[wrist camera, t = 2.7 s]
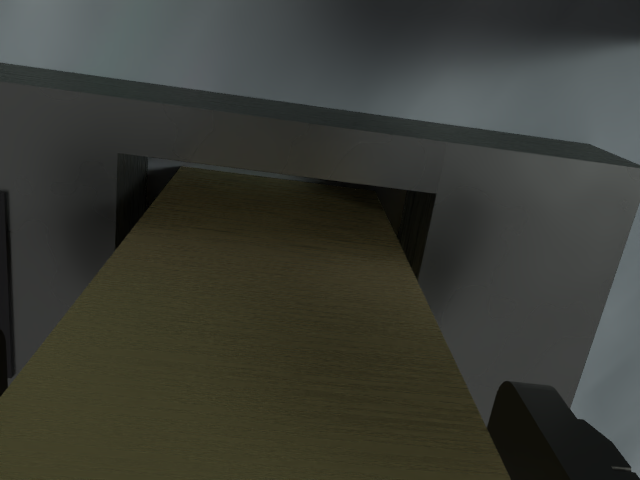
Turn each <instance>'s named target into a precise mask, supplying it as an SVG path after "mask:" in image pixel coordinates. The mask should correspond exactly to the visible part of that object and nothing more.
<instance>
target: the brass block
mask: <svg viewBox="0 0 640 480" xmlns="http://www.w3.org/2000/svg"><path fill="white" fill-rule="evenodd" d="M0 480H511V479H510V477H509V474H508V472H507V470H506V468H505V466H504V464H503V462H502V460H501V457H500V455H499V453H498V451H497V449H496V447H495V445H494V443H493V440H492V438H491V436H490V434H489V432H488V430H487V428H486V426H485V424H484V421H483V419H482V417H481V415H480V413H479V411H478V409H477V407H476V404H475V402H474V400H473V398H472V396H471V394H470V392H469V390H468V387H467V385H466V383H465V381H464V379H463V377H462V375H461V373H460V370H459V368H458V366H457V364H456V362H455V360H454V358H453V356H452V353H451V351H450V349H449V347H448V345H447V343H446V341H445V339H444V337H443V334H442V332H441V330H440V328H439V326H438V324H437V322H436V320H435V317H434V315H433V313H432V311H431V309H430V307H429V305H428V303H427V300H426V298H425V296H424V294H423V292H422V290H421V288H420V286H419V283H418V281H417V279H416V277H415V275H414V273H413V271H412V269H411V266H410V264H409V262H408V260H407V258H406V256H405V254H404V252H403V250H402V247H401V245H400V243H399V241H398V239H397V237H396V235H395V233H394V230H393V228H392V226H391V224H390V222H389V220H388V218H387V216H386V213H385V211H384V209H383V207H382V205H381V203H380V201H379V199H378V196H377V194H376V192H375V191H372V190H364V189H357V188H349V187H341V186H333V185H325V184H317V183H309V182H302V181H294V180H286V179H278V178H270V177H262V176H254V175H246V174H239V173H231V172H223V171H215V170H207V169H199V168H191V167H183V166H181V167H180V169H179V170H178V171H177V172H176V174H175V175H174V176H173V177H172V179H171V180H170V181H169V183H168V184H167V185H166V186H165V188H164V189H163V190H162V191H161V193H160V194H159V195H158V197H157V198H156V199H155V200H154V202H153V203H152V204H151V206H150V207H149V208H148V209H147V211H146V212H145V213H144V214H143V216H142V217H141V218H140V220H139V221H138V222H137V223H136V225H135V226H134V227H133V228H132V230H131V231H130V232H129V234H128V235H127V236H126V237H125V239H124V240H123V241H122V243H121V244H120V245H119V246H118V248H117V249H116V250H115V251H114V253H113V254H112V255H111V257H110V258H109V259H108V260H107V262H106V263H105V264H104V265H103V267H102V268H101V269H100V271H99V272H98V273H97V274H96V276H95V277H94V278H93V279H92V281H91V282H90V283H89V285H88V286H87V287H86V288H85V290H84V291H83V292H82V294H81V295H80V296H79V297H78V299H77V300H76V301H75V302H74V304H73V305H72V306H71V308H70V309H69V310H68V311H67V313H66V314H65V315H64V316H63V318H62V319H61V320H60V322H59V323H58V324H57V325H56V327H55V328H54V329H53V331H52V332H51V333H50V334H49V336H48V337H47V338H46V339H45V341H44V342H43V343H42V345H41V346H40V347H39V348H38V350H37V351H36V352H35V353H34V355H33V356H32V357H31V359H30V360H29V361H28V362H27V364H26V365H25V366H24V368H23V369H22V370H21V371H20V373H19V374H18V375H17V376H16V378H15V379H14V380H13V382H12V383H11V384H10V385H9V387H8V388H7V389H6V390H5V392H4V393H3V394H2V396H1V397H0Z"/></svg>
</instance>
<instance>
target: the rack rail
mask: <svg viewBox="0 0 640 480" xmlns="http://www.w3.org/2000/svg"><path fill="white" fill-rule="evenodd" d="M148 157H153V158H161V159H169V160H177V161H185V162H192V163H200V164H208V165H216V166H224V167H231V168H239V169H247V170H255V171H263V172H271V173H278V174H286V175H294V176H302V177H310V178H318V179H325V180H333V181H341V182H349V183H357V184H364V185H372V186H380V187H388V188H396V189H404V190H407V195H406V200H405V205H404V210H403V215H402V220H401V225H400V230H399V235H398V241H399V243H400V245H401V247H402V250H403V252H404V254H405V256H406V258H407V260H408V262H409V264H410V266H411V269H412V271H413V273H414V275H415V277H416V279H417V281H418V283H419V286H420V288H421V290H422V292H423V294H424V296H425V298H426V300H427V303H428V305H429V307H430V309H431V311H432V313H433V315H434V317H435V320H436V322H437V324H438V326H439V328H440V330H441V332H442V334H443V337H444V339H445V341H446V343H447V345H448V347H449V349H450V351H451V353H452V356H453V358H454V360H455V362H456V364H457V366H458V368H459V370H460V373H461V375H462V377H463V379H464V381H465V383H466V385H467V387H468V390H469V392H470V394H471V396H472V398H473V400H474V402H475V404H476V407H477V409H478V411H479V413H480V415H481V417H482V419H483V421H484V424H485V426H486V428H487V425H488V422H489V418H490V415H491V411H492V407H493V404H494V400H495V397H496V394H497V391H498V389H499V387H500V385H501V384H502V383H503V382H505V381H512V382H522V383H532V384H542V385H550V386H552V387H554V388H555V389H556V390H557V392H558V393H559V394H560V396H561V397H562V399H563V400H564V401H565V403H566V404H567V406H568V407H569V408H570V407H571V404H572V401H573V398H574V395H575V392H576V390H577V387H578V384H579V381H580V378H581V375H582V372H583V369H584V366H585V363H586V360H587V357H588V354H589V351H590V348H591V345H592V342H593V339H594V336H595V333H596V330H597V327H598V324H599V321H600V318H601V315H602V312H603V309H604V306H605V304H606V301H607V298H608V295H609V292H610V289H611V286H612V283H613V280H614V277H615V274H616V271H617V268H618V265H619V262H620V259H621V256H622V253H623V250H624V247H625V244H626V241H627V238H628V235H629V232H630V229H631V226H632V223H633V220H634V218H635V215H636V212H637V209H638V206H639V203H640V165H638V164H636V163H633V162H631V161H629V160H626V159H624V158H621V157H619V156H617V155H614V154H612V153H610V152H607V151H605V150H602V149H600V148H598V147H595V146H593V145H590V144H584V143H577V142H570V141H563V140H555V139H548V138H541V137H534V136H526V135H519V134H512V133H505V132H498V131H490V130H483V129H476V128H469V127H461V126H454V125H447V124H440V123H432V122H425V121H418V120H411V119H403V118H396V117H389V116H382V115H374V114H367V113H360V112H353V111H346V110H338V109H331V108H324V107H317V106H309V105H302V104H295V103H288V102H280V101H273V100H266V99H259V98H251V97H244V96H237V95H230V94H223V93H215V92H208V91H201V90H194V89H186V88H179V87H172V86H165V85H157V84H150V83H143V82H136V81H128V80H121V79H114V78H107V77H99V76H92V75H85V74H78V73H71V72H63V71H56V70H49V69H42V68H34V67H27V66H20V65H13V64H5V63H0V329H1V330H2V331H3V333H4V335H5V339H6V352H7V377H8V387H9V385H10V384H11V383H12V382H13V380H14V379H15V378H16V376H17V375H18V374H19V373H20V371H21V370H22V369H23V368H24V366H25V365H26V364H27V362H28V361H29V360H30V359H31V357H32V356H33V355H34V353H35V352H36V351H37V350H38V348H39V347H40V346H41V345H42V343H43V342H44V341H45V339H46V338H47V337H48V336H49V334H50V333H51V332H52V331H53V329H54V328H55V327H56V325H57V324H58V323H59V322H60V320H61V319H62V318H63V316H64V315H65V314H66V313H67V311H68V310H69V309H70V308H71V306H72V305H73V304H74V302H75V301H76V300H77V299H78V297H79V296H80V295H81V294H82V292H83V291H84V290H85V288H86V287H87V286H88V285H89V283H90V282H91V281H92V279H93V278H94V277H95V276H96V274H97V273H98V272H99V271H100V269H101V268H102V267H103V265H104V264H105V263H106V262H107V260H108V259H109V258H110V257H111V255H112V254H113V253H114V251H115V250H116V249H117V248H118V246H119V245H120V244H121V243H122V241H123V240H124V239H125V237H126V236H127V235H128V234H129V232H130V231H131V230H132V228H133V227H134V226H135V225H136V223H137V222H138V221H139V220H140V218H141V217H142V216H143V214H144V213H145V211H146V188H147V164H148Z"/></svg>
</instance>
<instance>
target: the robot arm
mask: <svg viewBox="0 0 640 480" xmlns="http://www.w3.org/2000/svg"><path fill="white" fill-rule="evenodd" d="M7 388H8V377H7V352H6V339H5V335H4V333H3V331H2V330H1V329H0V397H1V396H2V394H3V393H4V392H5V390H6V389H7ZM487 430H488V432H489V434H490V436H491V438H492V440H493V443H494V445H495V447H496V449H497V451H498V453H499V455H500V457H501V460H502V462H503V464H504V466H505V468H506V470H507V472H508V474H509V477H510V479H511V480H640V478H639V477H638V476H637V474H636V473H634V472H631V467H630V465H629V464H628V463H627V461H626V460H625V459H624V457H623V456H622V455H621V453H620V452H619V451H618V449H617V448H616V447H615V445H614V444H613V443H612V442H611V441H610V440H609V439H607V438H606V437H605V436H604V435H602V434H601V433H600V432H599V431H597V430H596V429H595V428H593V427H592V426H591V425H590V424H588V423H587V422H586V421H585V420H582V419H577V418H576V417H575V415H574V414H573V413H572V411H571V410H570V408H569V407H568V406H567V404H566V403H565V401H564V400H563V399H562V397H561V396H560V394H559V393H558V392H557V390H556V389H555V388H554V387H552V386H550V385H542V384H532V383H522V382H512V381H505V382H503V383H502V384H501V385H500V387H499V389H498V391H497V394H496V397H495V400H494V404H493V407H492V411H491V415H490V418H489V422H488V425H487Z"/></svg>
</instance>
